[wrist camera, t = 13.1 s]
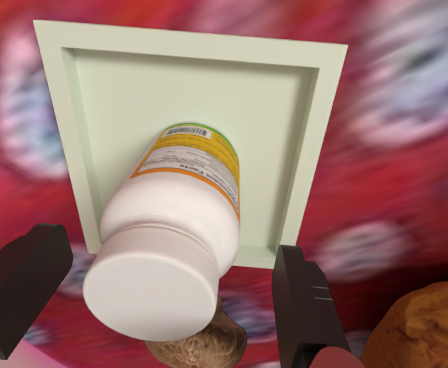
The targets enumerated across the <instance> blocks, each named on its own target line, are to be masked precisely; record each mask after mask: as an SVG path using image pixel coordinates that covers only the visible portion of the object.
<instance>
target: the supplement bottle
mask: <svg viewBox="0 0 448 368" xmlns="http://www.w3.org/2000/svg"><path fill="white" fill-rule="evenodd" d="M100 238H101V243H102V247H101V248H100V250H99V252H98V254H97V256H96V258H95V260H94V261H93V263H92V265H91V267H90V268H89V270H88V272H87V274H86V276H85V278H84V282H83V296H84V300H85V303H86V305H87V306H88V308H89V309H90V311H91V312H92V313H93V315H94V316H95V317H96V318H97V319H99V320H100V321H101V322H102V323H103V324H105V325H106V326H108V327H109V328H111V329H113V330H115V331H117V332H119V333H122V334H124V335H127V336H130V337H133V338H137V339H141V340H148V341H156V342H160V341H174V340H180V339H184V338H187V337H190V336H192V335H195V334H196V333H198V332H199V331H201V330H202V329H204V328H205V327H206V326H207V325H208V324H209V322H210V321H211V320H212V318H213V316H214V313H215V310H216V305H217V295H218V284H219V279H220V278H221V277H222V276H223V275H224V274H225V273H226V272H227V271H228V270H229V269H230V267H231V266H232V264H233V263H234V261H235V259H236V256H237V253H238V250H239V245H240V169H239V159H238V155H237V152H236V149H235V147H234V145H233V144H232V142H231V141H230V140H229V138H228V137H227V136H226V135H225V134H224V133H223V132H221V131H220V130H219V129H217V128H215V127H213V126H211V125H209V124H206V123H202V122H198V121H184V122H178V123H175V124H173V125H170V126H168V127H167V128H165V129H164V130H162V131H161V132H160V133H159V134H158V135H157V136H156V137H155V139H154V140H153V141H152V143H151V144H150V145H149V146H148V148H147V149H146V151H145V152H144V153H143V155H142V156H141V157H140V159H139V160H138V162H137V163H136V164H135V166H134V167H133V168H132V170H131V171H130V172H129V174H128V175H127V176H126V178H125V179H124V180H123V182H122V183H121V184H120V186H119V187H118V188H117V190H116V191H115V192H114V194H113V195H112V197H111V198H110V200H109V201H108V203H107V205H106V207H105V209H104V211H103V214H102V217H101V222H100Z"/></svg>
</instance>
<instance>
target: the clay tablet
mask: <svg viewBox="0 0 448 368" xmlns="http://www.w3.org/2000/svg"><path fill="white" fill-rule="evenodd" d="M360 361H361V362H362V364H363V365H364V366H365V368H448V281H445V282H437V283H432V284H430V285H428V286H427V287H425V288H422V289H418V290H415V291H412V292H410V293H408V294H406V295H405V296H403V297H401V298H399V299H398V300H397V301H396V302H395V303H394V304H393V305H392V306H391V308H390V309H389V310H388V312H387V313H386V315H385V316H384V318H383V319H382V320H381V321H380V322H379V324H378V325H377V326H376V327H375V329H374V330H373V331H372V333H371V335H370V336H369V338H368V340H367V341H366V344H365V346H364V349H363V352H362V355H361V358H360Z"/></svg>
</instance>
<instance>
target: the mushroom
mask: <svg viewBox="0 0 448 368" xmlns="http://www.w3.org/2000/svg"><path fill="white" fill-rule="evenodd" d="M222 303H223V302H222V300H221V299H220V297H219V296H217V305H216V310H215V313H214V316H213V318H212V320H211V321H210V322H209V324H208V325H207V326H206V327H205V328H204V329H202V330H201V331H199V332H198V333H196V334H195V335H192V336H190V337H187V338H184V339H180V340H174V341H160V342H156V341H148V340H144V343H145V345H146V347H147V348H148V350H149V351H150V352H151V354H152V355H153V356H154V357H155V358H156V359H157V360H158V361H160V362H162V363H164V364H166V365H168V366H170V367H172V368H232V367H234V366H235V365H236V364H237V363H238V362H239V361H240V359H241V358H242V356H243V354H244V352H245V350H246V346H247V333H246V331H245V330H244V328H243V327H241V326H240V325H238V324H237V323H236V322H234V321H233V320H231V319H230V318H228V317H227V316H226V315H225V314H224V312H223V310H222Z"/></svg>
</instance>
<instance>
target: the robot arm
mask: <svg viewBox="0 0 448 368" xmlns="http://www.w3.org/2000/svg"><path fill="white" fill-rule="evenodd" d="M72 262H73V254H72V250H71V247H70V243H69V240H68V236H67V233H66V229H65V227H64V226H63V225H59V224H48V223H39V224H37V225H36V226H35V227H33V228H32V229H31V230H30V231H29V232H28V233H27V234H26V235H25V236H21V237H19V238H17V239H15V240H14V241H12V242H10V243H8V244H7V245H5V246H4V247H3V248H2V249H1V250H0V359H2V360H7V359H8V357H9V356H10V355H11V353H12V352H13V350H14V349H15V348H16V346H17V345H18V343H19V342H20V340H21V339H22V338H23V336H24V335H25V333H26V332H27V330H28V329H29V328H30V326H31V325H32V323H33V322H34V321H35V319H36V318H37V316H38V315H39V313H40V312H41V311H42V309H43V308H44V306H45V305H46V304H47V302H48V301H49V299H50V298H51V296H52V295H53V294H54V292H55V291H56V289H57V288H58V286H59V285H60V284H61V282H62V281H63V279H64V278H65V277H66V275H67V274H68V272H69V271H70V269H71V266H72ZM272 295H273V304H274V312H275V321H276V330H277V338H278V347H279V355H280V364H281V368H365V366H364V365H363V364H362V362H361V361H360V360H359V359H358V358H357V357H356V356H354V355H353V354H352V352H351V350H350V348H349V345H348V343H347V340H346V337H345V334H344V331H343V328H342V325H341V322H340V319H339V316H338V313H337V310H336V307H335V304H334V301H333V300H332V299H333V298H332V295H331V292H330V290H329V286H328V283H327V280H326V277H325V274H324V273H323V272H322V270H321V269H320V268H319V267H318V265H317V264H316V263H315V262H308V261H305V259H304V256H303V252H302V249H301V247H300V246H293V245H281V244H280V245H279V247H278V251H277V255H276V260H275V264H274V269H273V274H272Z"/></svg>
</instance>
